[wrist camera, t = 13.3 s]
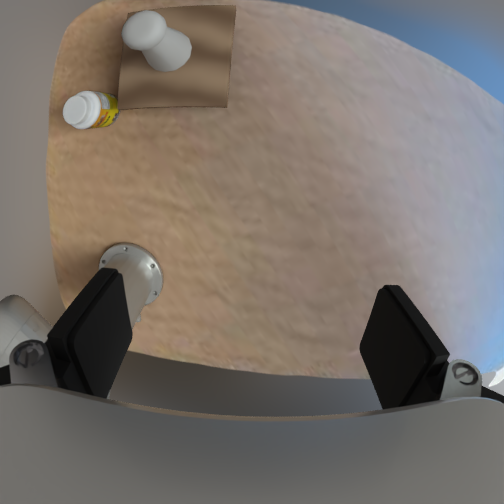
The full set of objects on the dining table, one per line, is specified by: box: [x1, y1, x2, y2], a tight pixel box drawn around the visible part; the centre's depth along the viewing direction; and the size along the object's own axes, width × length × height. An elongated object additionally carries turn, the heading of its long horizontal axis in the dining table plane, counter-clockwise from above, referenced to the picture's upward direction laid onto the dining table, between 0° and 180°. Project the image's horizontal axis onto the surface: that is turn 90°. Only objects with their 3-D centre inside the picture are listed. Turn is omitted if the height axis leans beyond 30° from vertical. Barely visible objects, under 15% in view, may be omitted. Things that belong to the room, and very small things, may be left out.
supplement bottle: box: [63, 91, 120, 129], centre depth 34 cm, size 6×6×10 cm
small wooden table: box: [117, 5, 236, 110], centre depth 33 cm, size 15×15×6 cm
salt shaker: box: [121, 10, 192, 72], centre depth 25 cm, size 6×6×13 cm
